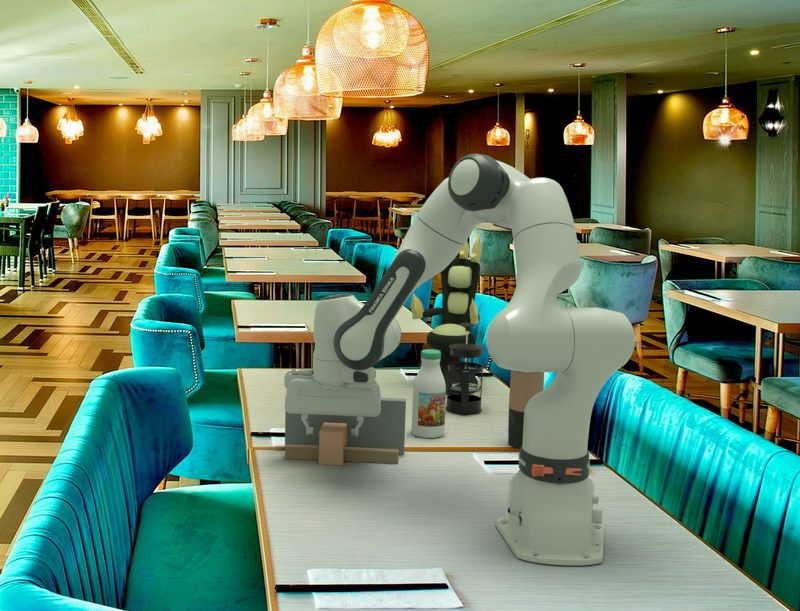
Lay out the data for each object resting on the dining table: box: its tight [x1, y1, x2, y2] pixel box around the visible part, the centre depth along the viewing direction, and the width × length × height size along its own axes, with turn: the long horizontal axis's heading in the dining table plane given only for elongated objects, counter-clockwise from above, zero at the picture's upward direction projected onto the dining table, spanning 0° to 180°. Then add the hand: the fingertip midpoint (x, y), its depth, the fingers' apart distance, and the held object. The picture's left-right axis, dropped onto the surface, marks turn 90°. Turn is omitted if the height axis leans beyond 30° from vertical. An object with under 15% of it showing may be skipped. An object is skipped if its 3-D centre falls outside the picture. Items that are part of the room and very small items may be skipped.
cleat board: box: [284, 397, 407, 464], centre depth 195 cm, size 8×26×12 cm, turn 88°
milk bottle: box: [411, 348, 447, 439], centre depth 212 cm, size 8×8×20 cm
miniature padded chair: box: [410, 232, 483, 395], centre depth 259 cm, size 19×22×45 cm
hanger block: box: [318, 422, 347, 466], centre depth 192 cm, size 7×5×7 cm
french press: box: [445, 323, 485, 416], centre depth 235 cm, size 12×9×23 cm
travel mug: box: [507, 370, 545, 449], centre depth 207 cm, size 8×8×20 cm
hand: (332, 435), depth 192 cm, fingers open, 8 cm apart
